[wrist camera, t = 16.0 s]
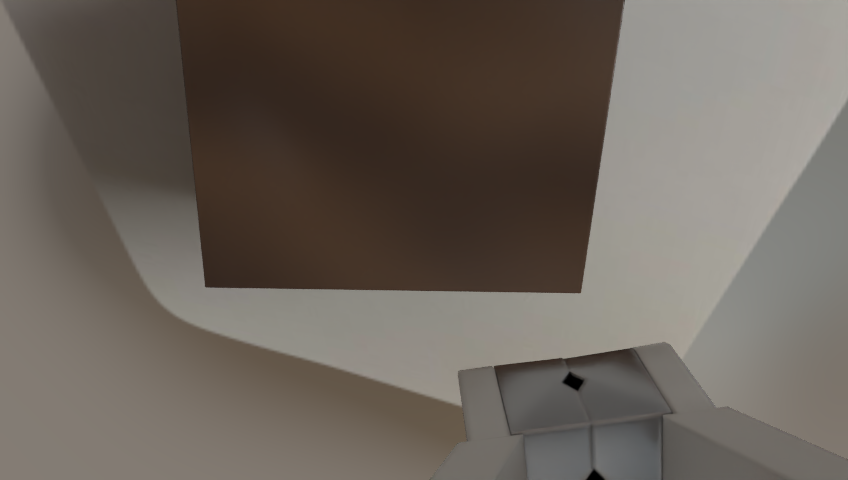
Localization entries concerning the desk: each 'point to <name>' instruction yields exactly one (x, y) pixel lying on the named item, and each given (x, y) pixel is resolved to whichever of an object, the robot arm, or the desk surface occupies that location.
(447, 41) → the chest lid
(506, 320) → the desk surface
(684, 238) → the desk surface
